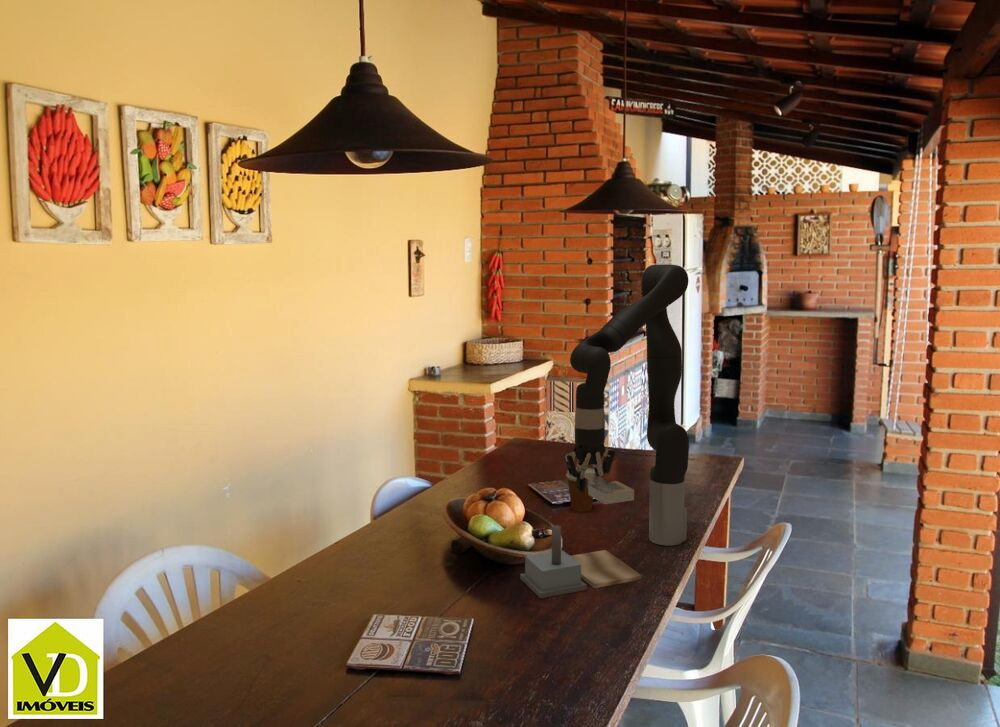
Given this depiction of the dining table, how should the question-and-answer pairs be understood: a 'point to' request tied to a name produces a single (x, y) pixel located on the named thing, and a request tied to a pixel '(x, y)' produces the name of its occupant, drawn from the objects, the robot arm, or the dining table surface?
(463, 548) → the hand tool
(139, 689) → the dining table surface
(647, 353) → the robot arm
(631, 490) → the beige stepped block
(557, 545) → the block with upright post
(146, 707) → the dining table surface
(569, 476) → the disposable coffee cup
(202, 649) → the dining table surface
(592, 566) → the folded beige cloth
